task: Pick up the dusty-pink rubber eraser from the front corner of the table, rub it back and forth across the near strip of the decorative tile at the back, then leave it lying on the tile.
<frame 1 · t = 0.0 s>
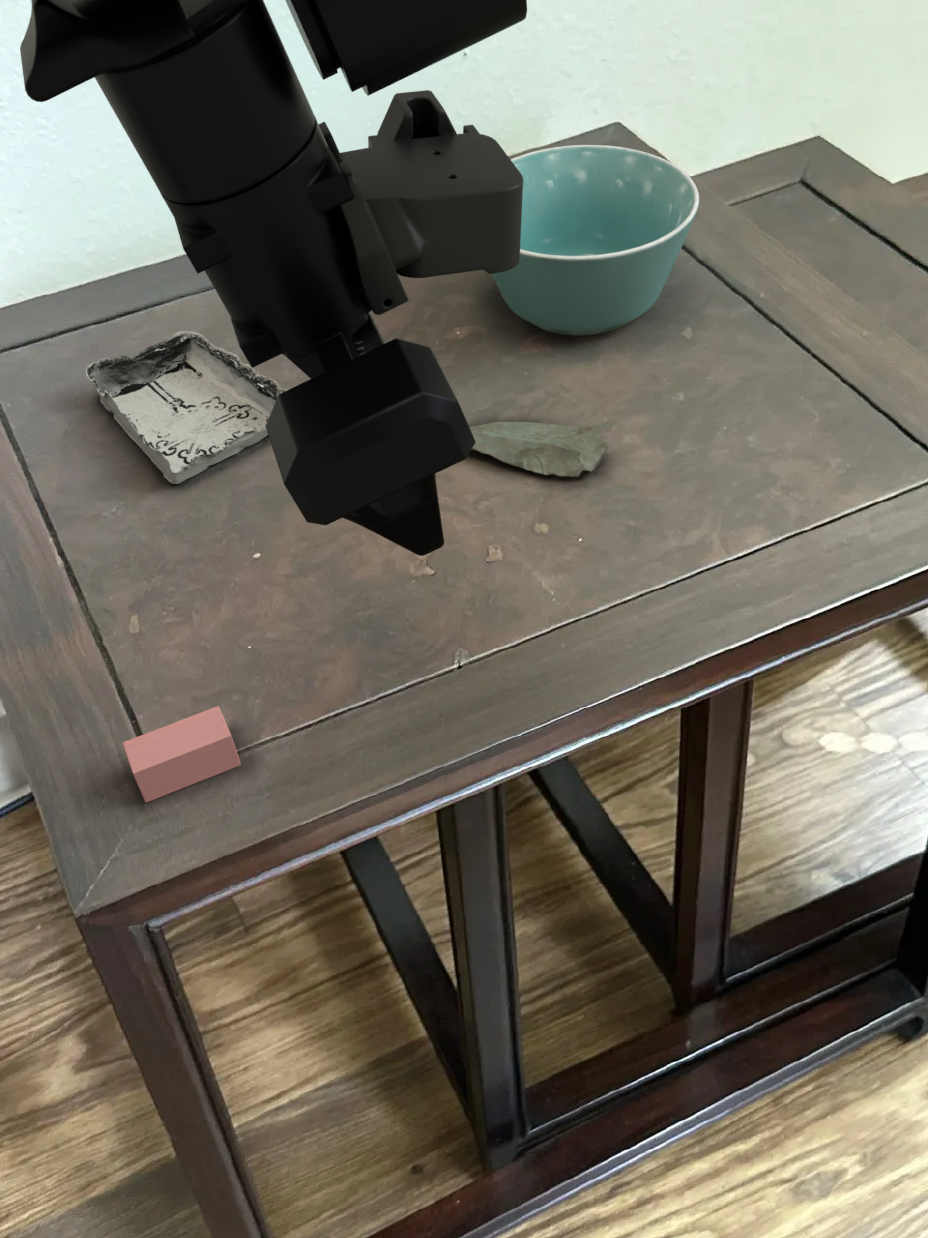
hand: (402, 480, 53), 16 cm above the table, tool pointing down, fingers open, 9 cm apart
stone: (522, 449, 80), on the table
eraser: (188, 768, 64), on the table
bowl: (583, 305, 91), on the table
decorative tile: (194, 418, 86), on the table
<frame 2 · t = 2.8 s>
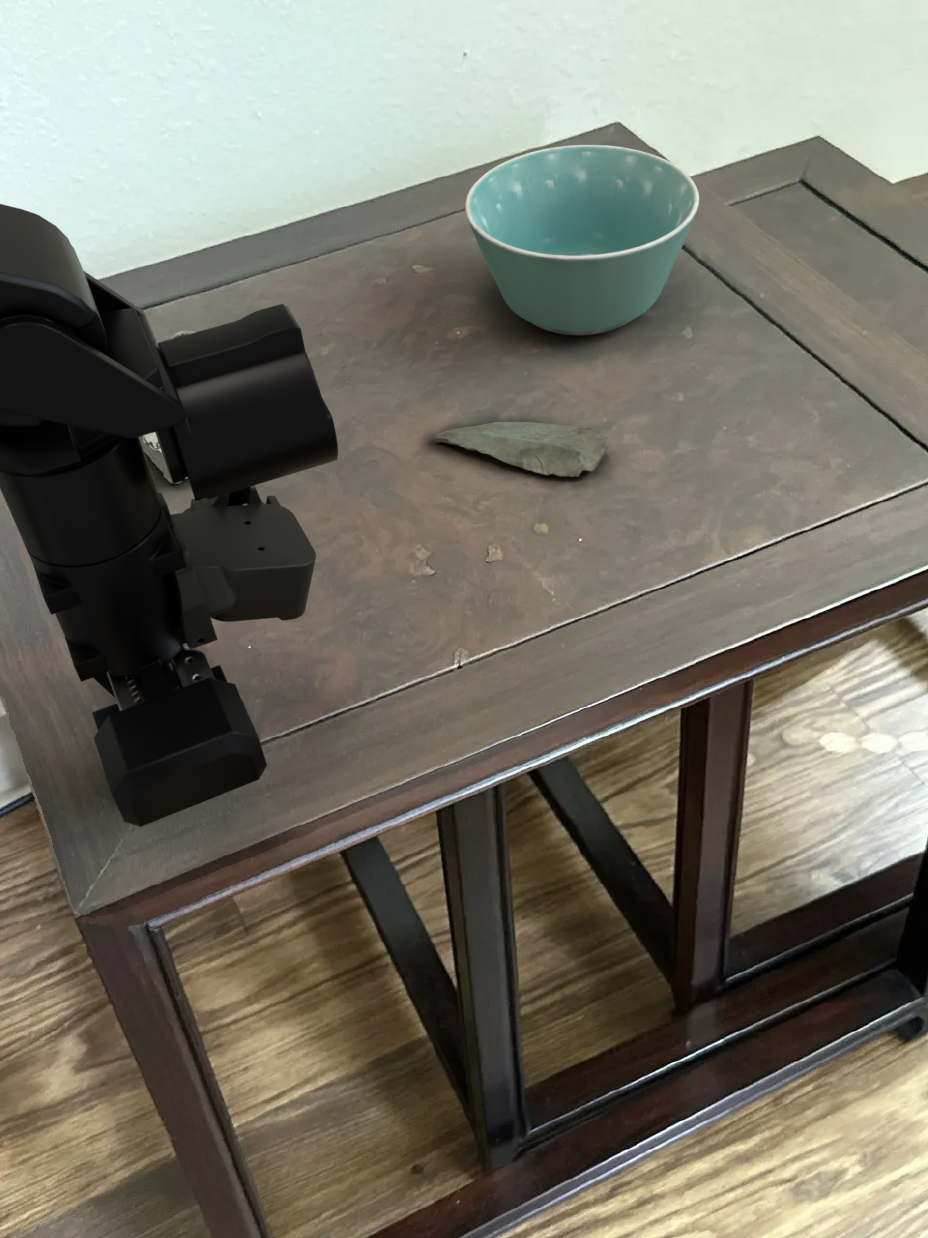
hand: (183, 756, 63), 1 cm above the table, tool pointing down, fingers closed on eraser, 2 cm apart
eraser: (188, 768, 64), on the table, touching gripper
everything else where it was.
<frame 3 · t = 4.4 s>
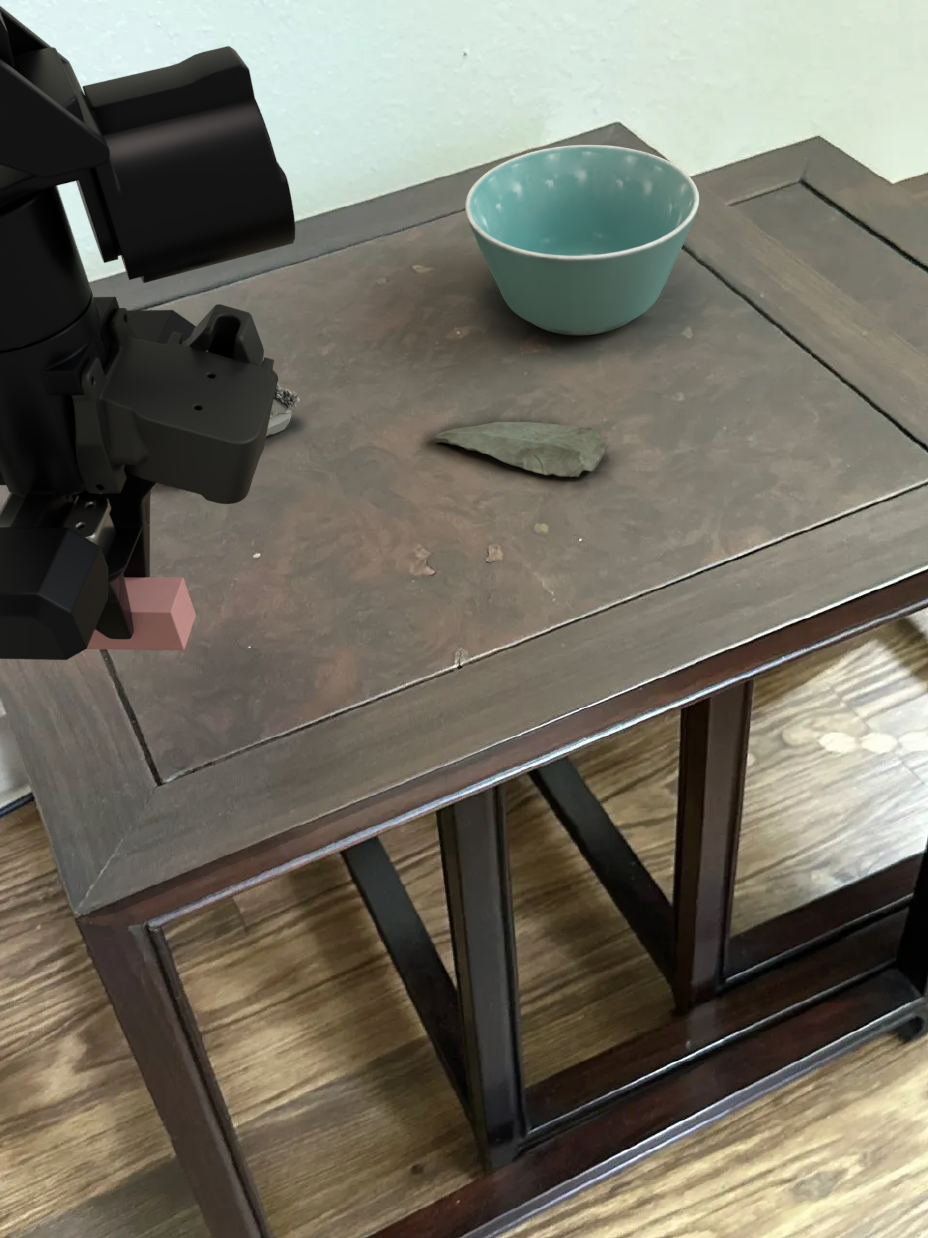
hand: (129, 616, 56), 11 cm above the table, tool pointing down, fingers closed on eraser, 2 cm apart
eraser: (136, 632, 57), point 10 cm above the table, touching gripper
everything else where it was.
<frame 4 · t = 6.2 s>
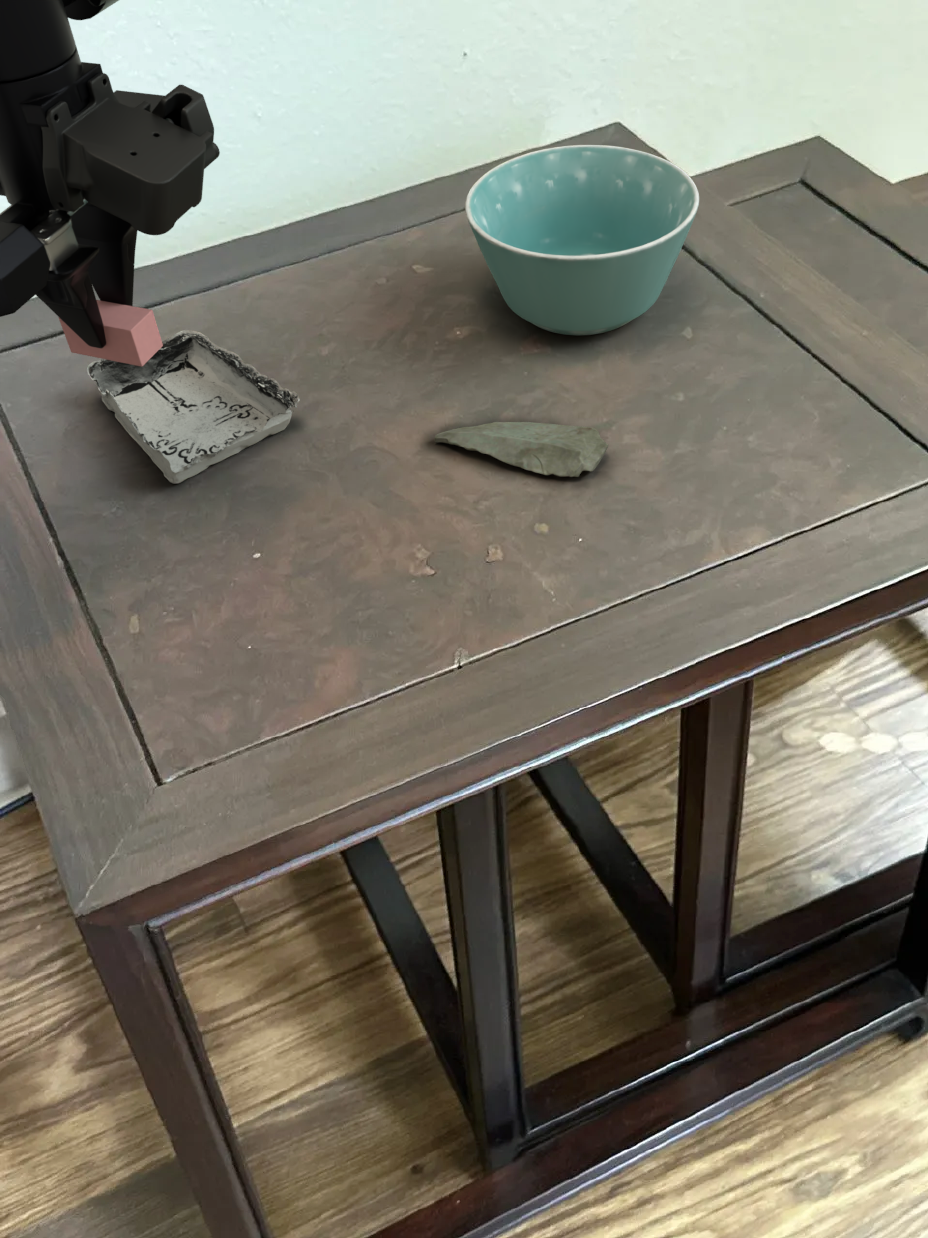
hand: (110, 333, 72), 11 cm above the table, tool pointing down, fingers closed on eraser, 2 cm apart
eraser: (117, 349, 73), point 10 cm above the table, touching gripper
everything else where it was.
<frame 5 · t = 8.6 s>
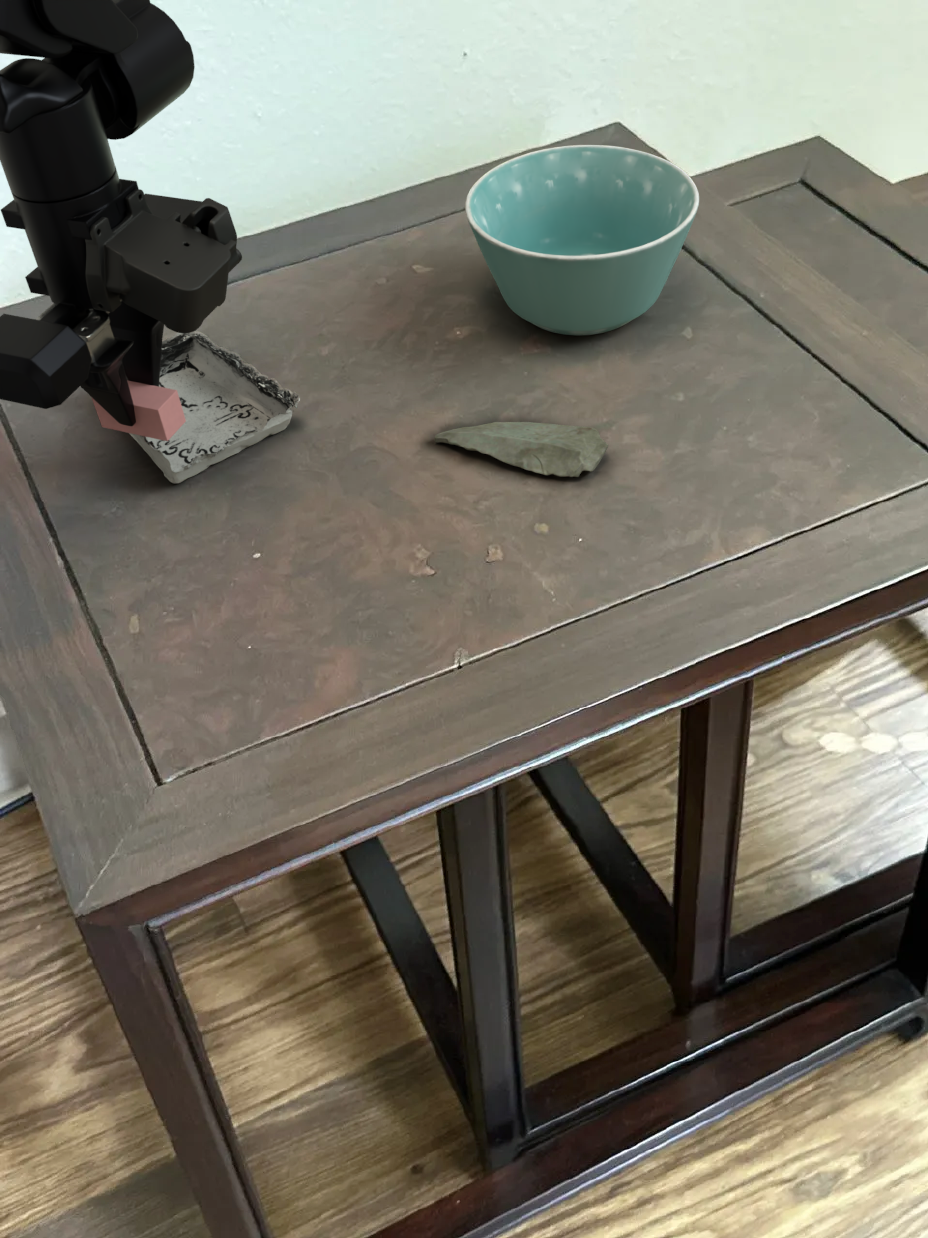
hand: (139, 412, 80), 4 cm above the table, tool pointing down, fingers closed on eraser, 2 cm apart
eraser: (144, 424, 80), point 3 cm above the table, touching gripper
everything else where it was.
when the fingers open (4 cm above the table, at t = 10.0 s): eraser stays where it is, resting on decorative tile.
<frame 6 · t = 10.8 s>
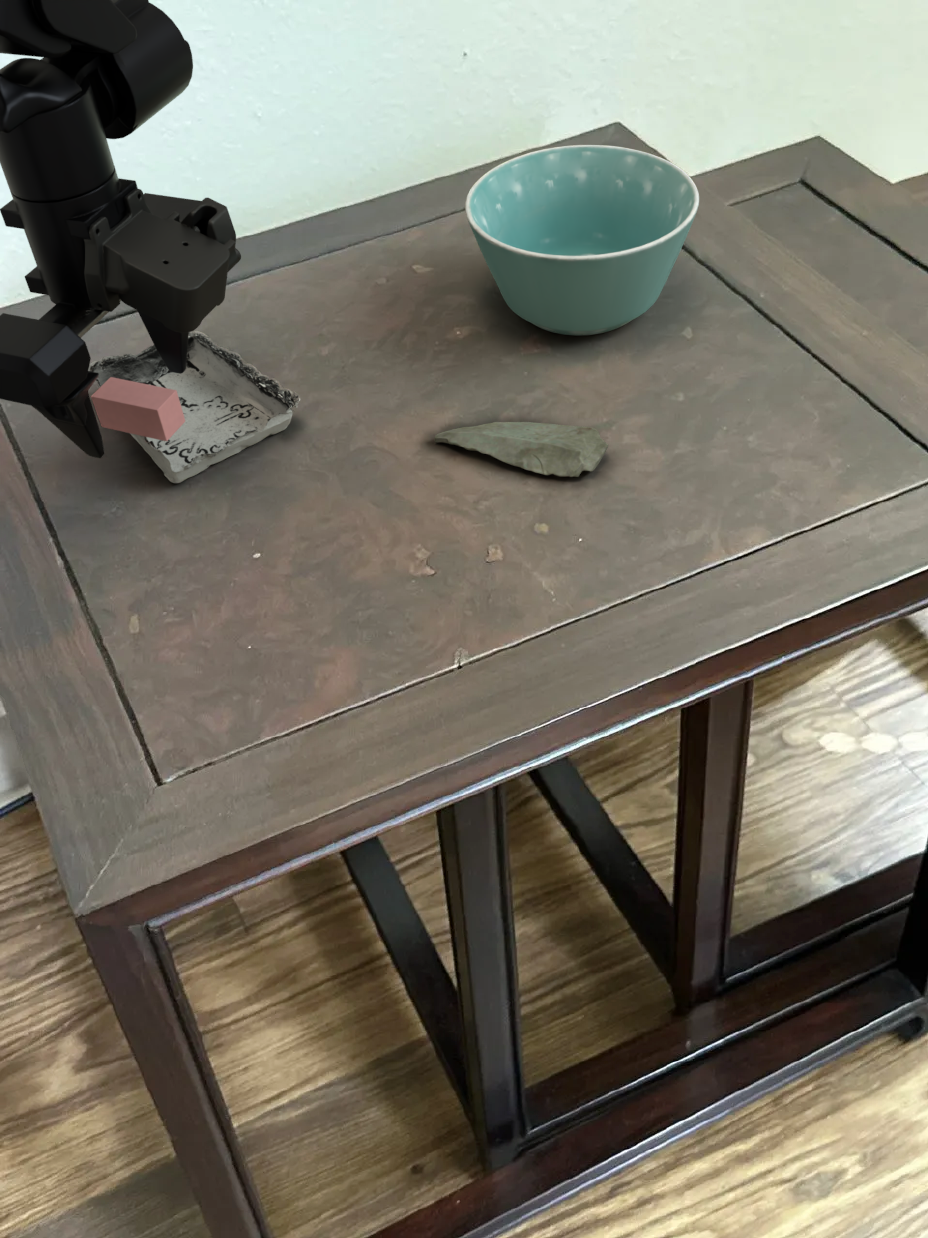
hand: (138, 412, 80), 4 cm above the table, tool pointing down, fingers open, 9 cm apart
eraser: (143, 424, 80), point 3 cm above the table, touching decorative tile
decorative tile: (196, 417, 86), on the table, touching eraser
everything else where it was.
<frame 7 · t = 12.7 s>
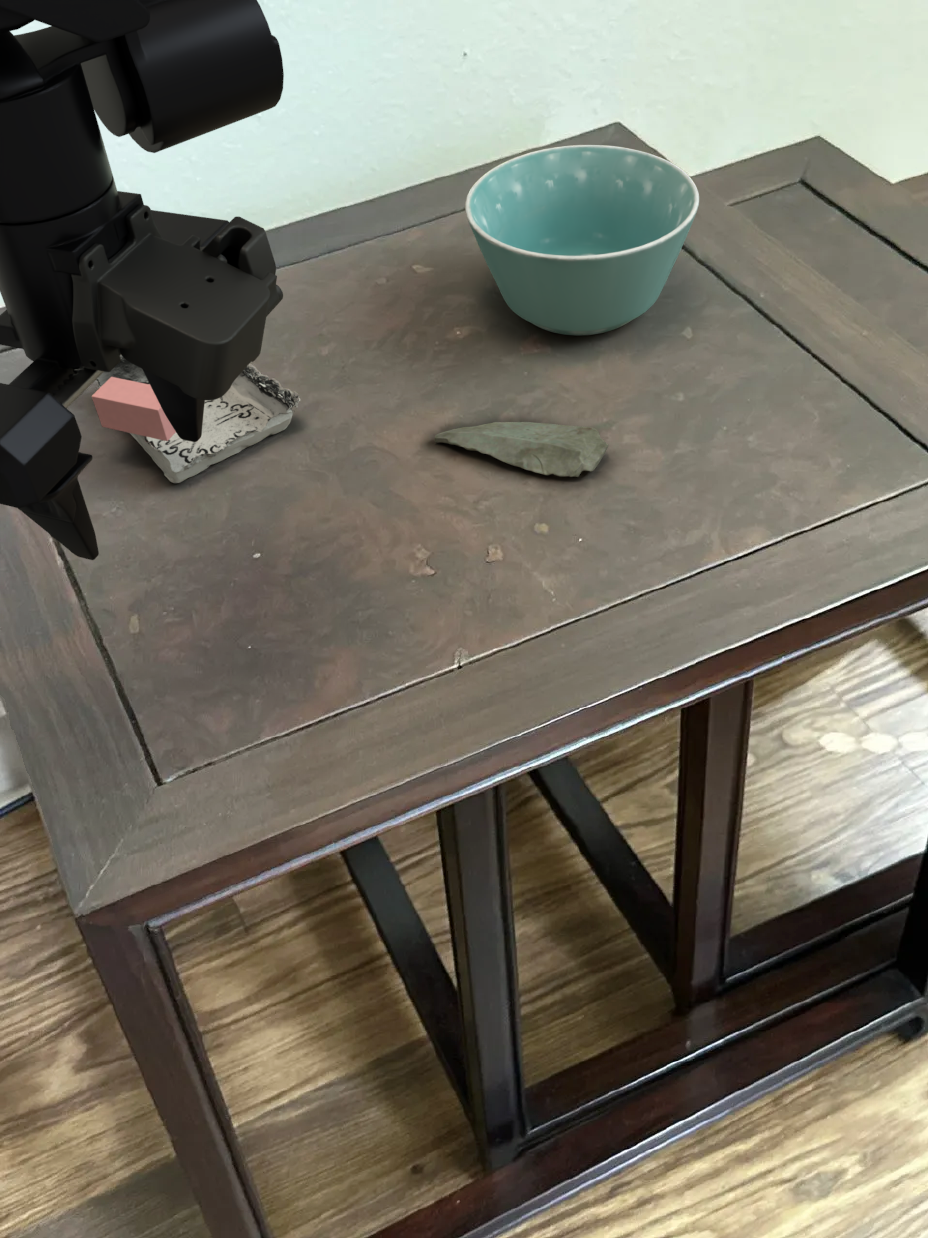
hand: (141, 495, 61), 12 cm above the table, tool pointing down, fingers open, 9 cm apart
nothing on the table moved.
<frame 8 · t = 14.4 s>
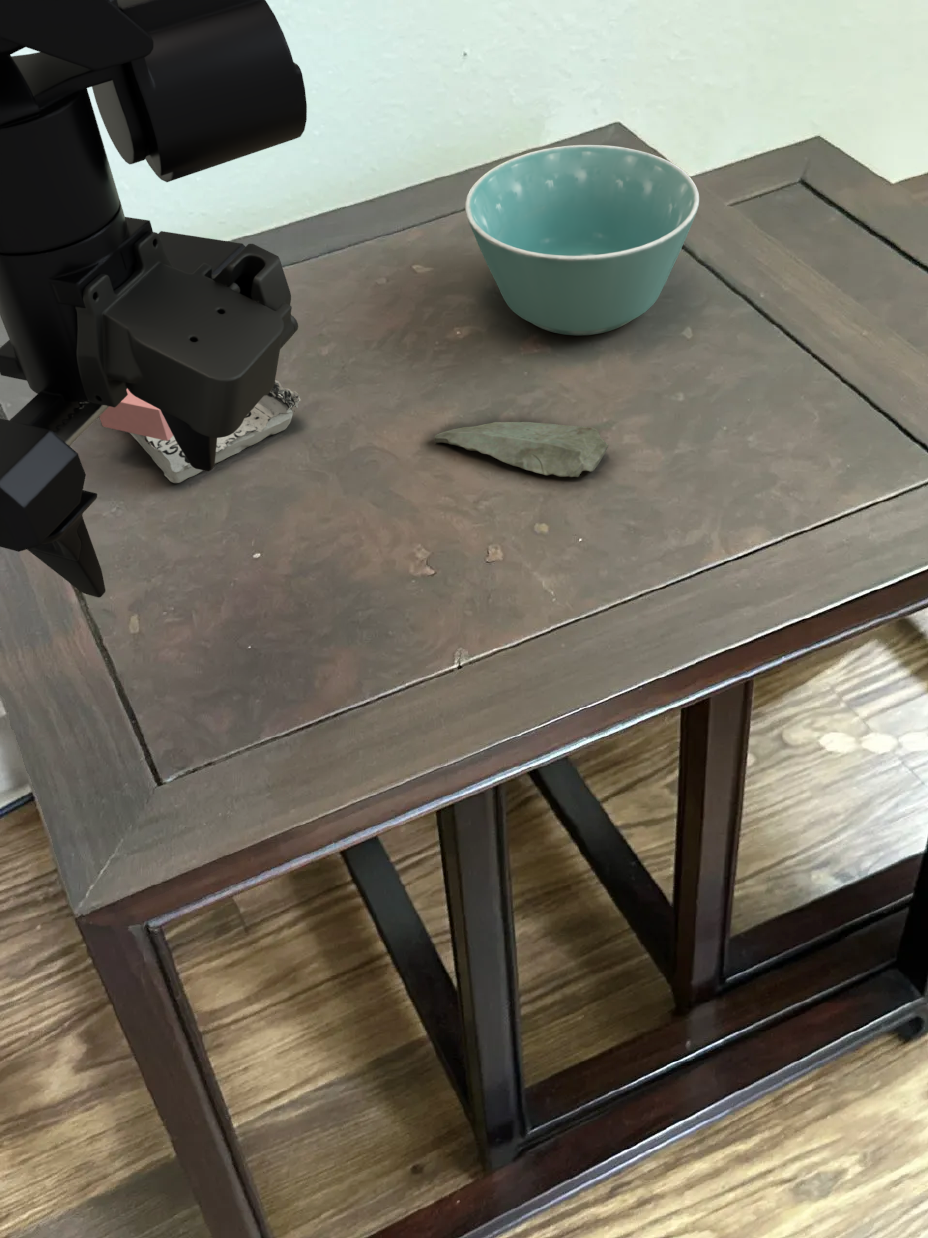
hand: (151, 527, 59), 12 cm above the table, tool pointing down, fingers open, 9 cm apart
nothing on the table moved.
at the end: eraser inside the target area on the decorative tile (3.3 cm from its centre), point 3.1 cm above the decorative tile's base; the gripper is holding nothing; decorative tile moved 0.3 cm from its start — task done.
